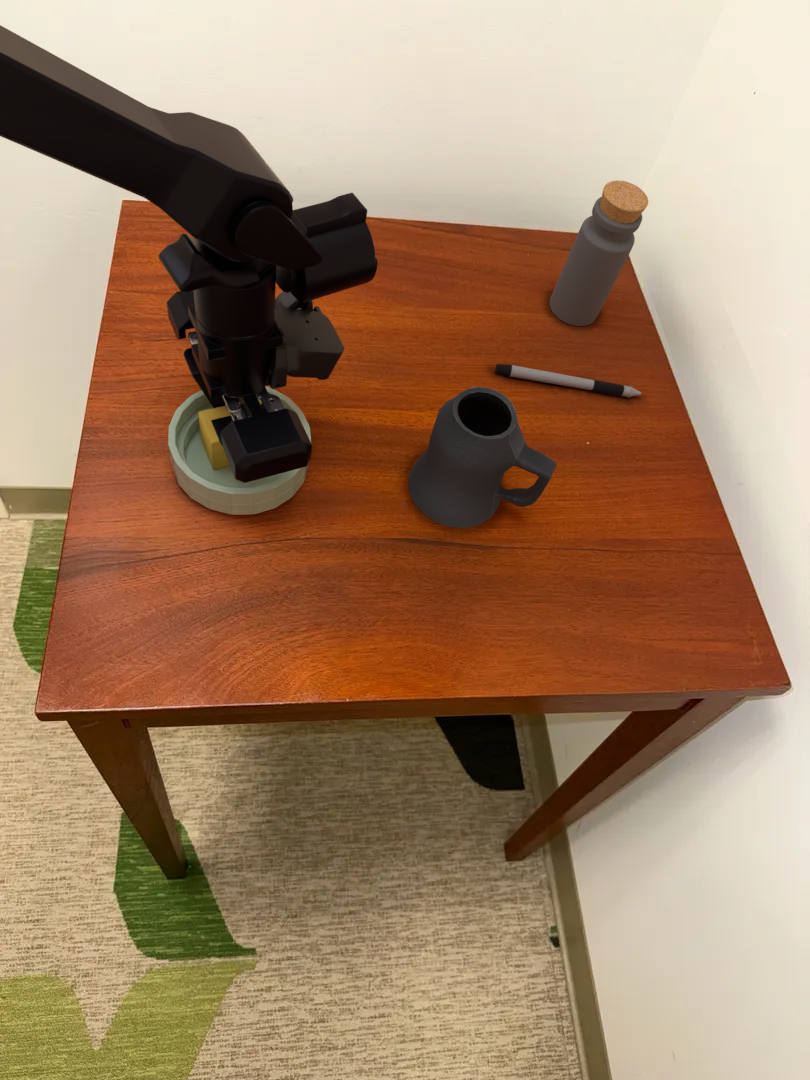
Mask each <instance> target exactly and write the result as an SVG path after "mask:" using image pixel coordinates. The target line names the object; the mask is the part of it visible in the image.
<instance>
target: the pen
mask: <svg viewBox="0 0 810 1080" xmlns="http://www.w3.org/2000/svg"><path fill="white" fill-rule="evenodd" d="M494 372H495V374H499V375H503V376H507V377H509V378H516V379H522V380H529V381H535V382H541V383H546V384H553V385H558V386H563V387H569V388H575V389H581V390H587V391H592V392H598V393H603V394H608V395H613V396H619V397H626V398H627V399H629V398H631V397H637V396H642V392H641V391H639V390H638V389H636V388H634V387H633V386H632V385H629V386H628V385H625V384H619V383H614V382H609V381H602V380H596V379H590V378H584V377H581V376H580V377H579V376H574V375H569V374H563V373H558V372H552V371H547V370H542V369H536V368H530V367H524V366H520V365H516V364H515V365H514V364H506V363H496V365H495V368H494Z"/></svg>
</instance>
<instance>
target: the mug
mask: <svg viewBox="0 0 810 1080" xmlns="http://www.w3.org/2000/svg"><path fill="white" fill-rule="evenodd" d="M517 413H518V412H517V409H516V408H515V406H514V404H513V403H512V401H511V400H510V399H509V398H508V397H507V396H506V395H505V394H503V393H501V392H499V391H498V390H496V389H493V388H490V387H487V386H486V387H484V386H474V387H469V388H466V389H465V390H462V391H460V392H459V393H457V395H456V396H455V397H453V398H451V399H449V400H447V401H446V402H444V404H443V405H442V406H441V407H440V408H439V410H438V413H437V415H436V417H435V422H434V424H433V428H432V431H431V434H430V437H429V442H428V447H427V448H426V449H425V450H424V452H423V453H422V454H421V455H420V456H419V457H418V458H417V460H416V461H415V462H414V464H413V465H412V467H411V469H410V473H409V475H408V479H407V480H408V491H409V494H410V496H411V499H412V501H413V503H414V504H415V506H416V507H417V508H418V509H419V510H420V512H421V513H422V515H425V516H426V517H428V518H429V519H430V520H432V521H434V522H435V523H438V524H439V525H443V526H446V527H449V528H457V529H458V528H459V529H461V528H462V529H467V528H472V527H476V526H480V525H482V524H483V523H484V522H486V521H488V520H490V519H491V518H492V517H493V515H494V514H495V513H496V512H497V510H498V509H499V506H500V502H501V501H502V500H503V501H505V502H508V503H510V504H512V505H515V506H517V507H520V508H525V507H528V506H532V505H534V504H535V503H536V502H537V501H538V499H539V497H540V496H541V495H542V494H543V492H544V491H545V489H546V488H547V486H548V484H549V483H550V481H551V480H552V477H553V474H554V472H555V470H556V468H557V463H556V461H554V459H552V458H550V457H548V456H547V455H546V454H544V453H543V452H540V451H539V450H536V449H533V448H532V447H530V446H528V445H527V442H526V439H525V437H524V434H523V432H522V429H521V426H520V424H519V420H518V414H517ZM513 467H517V468H519V469H522V470H525V471H526V472H529V473H530V474H533V475H536V476H537V477H538V478H537V479H536V480H535V482H534V484H533V485H531V486H529V487H514V488H509V489H507V488H504V487H503V483H502V481H503V478H504V476H505V473H506V472H507V471H508V470H510V469H511V468H513Z"/></svg>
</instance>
